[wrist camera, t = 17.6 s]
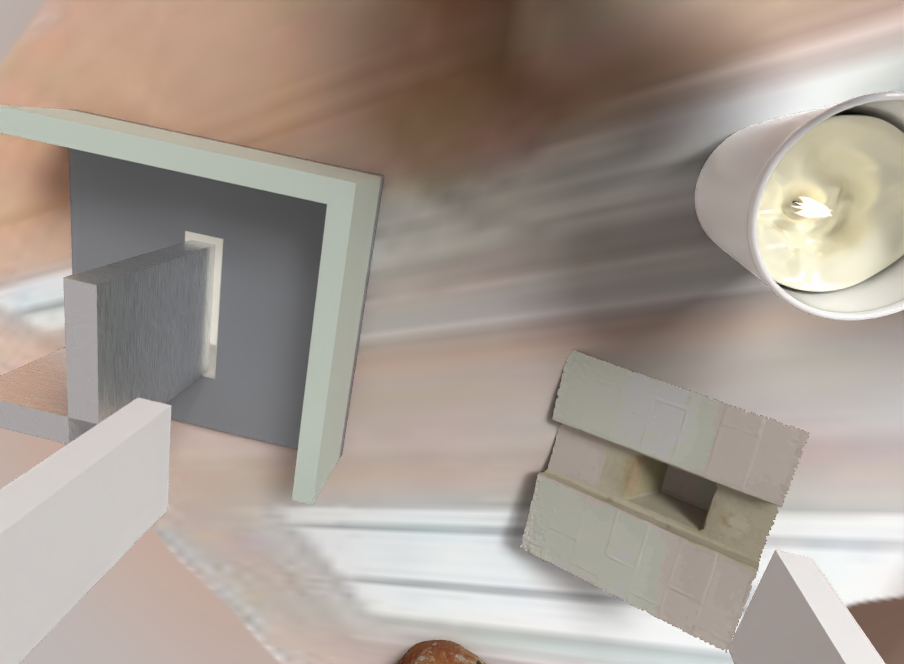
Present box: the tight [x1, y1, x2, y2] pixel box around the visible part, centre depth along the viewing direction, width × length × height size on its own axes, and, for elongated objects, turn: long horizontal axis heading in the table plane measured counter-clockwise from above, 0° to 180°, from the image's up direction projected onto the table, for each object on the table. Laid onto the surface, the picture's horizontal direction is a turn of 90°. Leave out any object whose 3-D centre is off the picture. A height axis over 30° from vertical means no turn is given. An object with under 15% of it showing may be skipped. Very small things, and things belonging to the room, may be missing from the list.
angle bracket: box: [0, 240, 216, 444], centre depth 37 cm, size 10×8×12 cm
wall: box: [520, 350, 810, 653], centre depth 40 cm, size 16×9×15 cm
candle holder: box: [695, 91, 904, 321], centre depth 30 cm, size 10×10×12 cm
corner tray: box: [0, 105, 384, 505], centre depth 39 cm, size 22×22×7 cm
